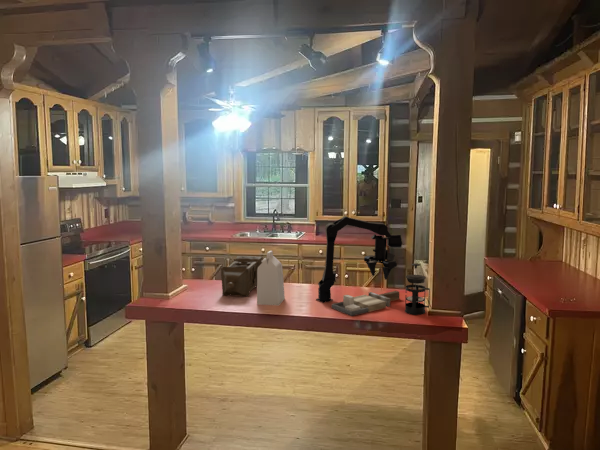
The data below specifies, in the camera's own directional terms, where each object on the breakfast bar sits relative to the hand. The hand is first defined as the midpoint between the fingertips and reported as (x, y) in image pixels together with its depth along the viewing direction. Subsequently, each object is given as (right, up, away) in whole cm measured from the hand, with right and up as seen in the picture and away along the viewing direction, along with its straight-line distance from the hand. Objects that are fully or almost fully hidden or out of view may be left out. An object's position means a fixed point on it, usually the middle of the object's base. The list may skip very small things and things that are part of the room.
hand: (379, 277), depth 234 cm
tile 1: (-16, -10, -11) cm, 22 cm away
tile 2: (-16, -11, -20) cm, 28 cm away
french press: (+14, -14, -20) cm, 28 cm away
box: (-17, -14, -15) cm, 27 cm away
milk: (-56, -13, +1) cm, 57 cm away
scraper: (+5, -12, -1) cm, 13 cm away
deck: (-8, -13, -10) cm, 18 cm away
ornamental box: (-74, -11, +19) cm, 77 cm away
